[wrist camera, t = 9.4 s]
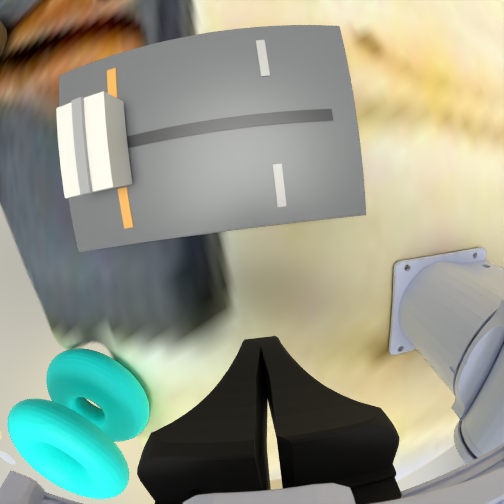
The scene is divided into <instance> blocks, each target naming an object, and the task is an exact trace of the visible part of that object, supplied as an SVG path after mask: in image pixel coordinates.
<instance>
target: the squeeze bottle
mask: <svg viewBox="0 0 504 504" xmlns="http://www.w3.org/2000/svg"><path fill="white" fill-rule="evenodd" d="M6 41H7V30H6V28H5V27H4V25H3V24H2V22H1V21H0V57H1V55H2V53H3V51H4V48H5V44H6Z"/></svg>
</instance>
